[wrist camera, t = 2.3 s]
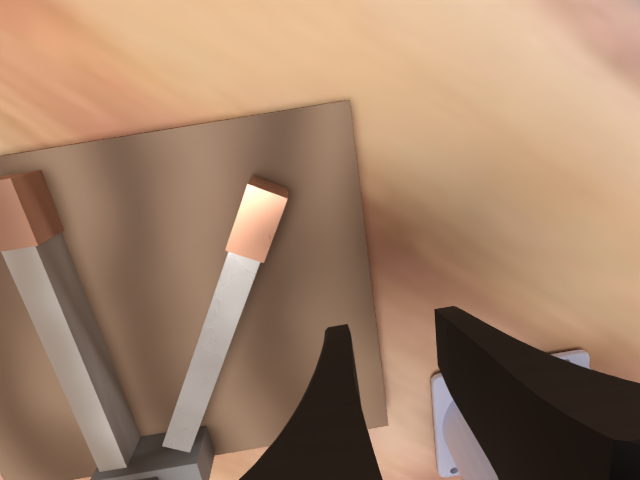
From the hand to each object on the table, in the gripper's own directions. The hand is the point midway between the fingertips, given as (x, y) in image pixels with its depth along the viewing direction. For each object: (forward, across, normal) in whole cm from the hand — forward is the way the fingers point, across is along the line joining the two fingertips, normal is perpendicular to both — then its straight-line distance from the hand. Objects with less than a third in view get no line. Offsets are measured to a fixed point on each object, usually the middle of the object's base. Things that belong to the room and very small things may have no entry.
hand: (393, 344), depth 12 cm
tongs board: (+9, +10, +2) cm, 14 cm away
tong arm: (+8, +7, +2) cm, 11 cm away
